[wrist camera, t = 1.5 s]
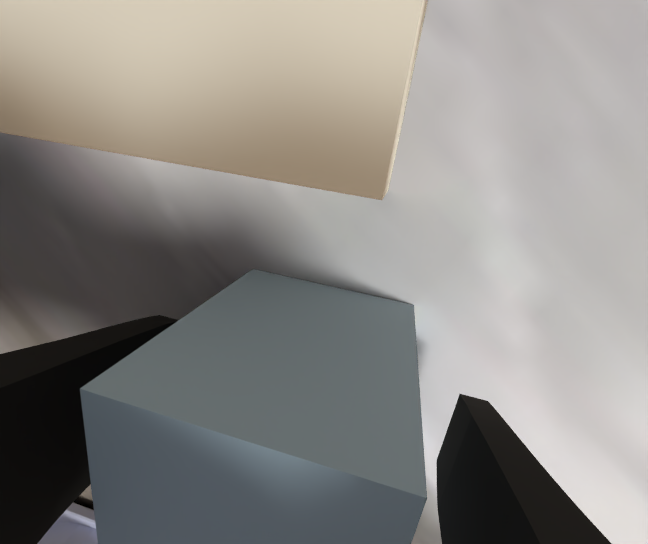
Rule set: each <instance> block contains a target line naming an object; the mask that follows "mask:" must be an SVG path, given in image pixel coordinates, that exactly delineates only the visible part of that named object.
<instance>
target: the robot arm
mask: <svg viewBox="0 0 648 544" xmlns="http://www.w3.org/2000/svg"><path fill="white" fill-rule="evenodd" d="M177 321H178V320H176V319H172V318H168V317H164V316H161V315H158V316H152V317H147V318H142V319H138V320H134V321H129V322H126V323H122V324H118V325H114V326H110V327H106V328H103V329H99V330H95V331H91V332H88V333H84V334H80V335H76V336H73V337H69V338H65V339H61V340H57V341H53V342H49V343H45V344H41V345H37V346H33V347H28V348H24V349H20V350H16V351H12V352H8V353H4V354H0V544H98V541H97V532H96V523H95V515H94V510H92V509H89V508H87V507H84V506H81V505H79V504H76V503H73V502H74V501H75V500H76V498H77V497H78V496H79V495H80V494H81V493H82V492H83V491H84V490H85V489H86V488H87V487H88V486H89V485H90V484H91V480H90V472H89V463H88V455H87V446H86V437H85V429H84V420H83V412H82V403H81V394H80V388H82V387H83V386H84V385H86V384H87V383H89V382H90V381H92V380H93V379H95V378H96V377H97V376H99V375H100V374H102V373H103V372H105V371H106V370H108V369H109V368H110V367H112V366H113V365H115V364H116V363H118V362H119V361H121V360H122V359H123V358H125V357H126V356H128V355H129V354H131V353H132V352H134V351H135V350H137V349H138V348H139V347H141V346H142V345H144V344H145V343H147V342H148V341H150V340H151V339H152V338H154V337H155V336H157V335H158V334H160V333H161V332H163V331H164V330H165V329H167V328H168V327H170V326H171V325H173V324H174V323H176V322H177ZM437 503H438V515H439V523H440V530H441V538H442V544H611V543H610V542H609V541H608V539H607V538H606V537H605V536H604V535H603V534H602V533H601V532H600V531H599V530H598V529H597V528H596V526H595V525H594V524H593V523H592V522H591V521H590V520H589V519H588V518H587V517H586V516H585V515H584V513H583V512H582V511H581V510H580V509H579V508H578V507H577V506H576V504H575V503H574V502H573V501H572V500H571V499H570V498H569V497H568V495H567V494H566V493H565V492H564V491H563V490H562V489H561V487H560V486H559V485H558V484H557V483H556V482H555V480H554V479H553V478H552V477H551V476H550V475H549V473H548V472H547V471H546V470H545V469H544V468H543V466H542V465H541V464H540V463H539V462H538V460H537V459H536V458H535V457H534V456H533V454H532V453H531V452H530V451H529V450H528V448H527V447H526V446H525V445H524V444H523V442H522V441H521V440H520V439H519V438H518V436H517V435H516V434H515V433H514V431H513V430H512V429H511V428H510V427H509V425H508V424H507V423H506V422H505V421H504V419H503V418H502V417H501V416H500V415H499V413H498V412H497V411H496V410H495V409H494V408H493V406H492V405H491V404H490V403H489V402H488V401H485V400H481V399H477V398H474V397H470V396H466V395H462V394H460V395H459V398H458V401H457V404H456V407H455V410H454V412H453V415H452V418H451V421H450V424H449V427H448V430H447V433H446V435H445V438H444V441H443V444H442V447H441V450H440V453H439V456H438V458H437Z"/></svg>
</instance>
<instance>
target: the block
mask: <svg viewBox="0 0 648 544" xmlns="http://www.w3.org/2000/svg"><path fill="white" fill-rule="evenodd" d="M80 394H81V403H82V412H83V420H84V429H85V437H86V446H87V455H88V463H89V472H90V480H91V489H92V498H93V506H94V515H95V523H96V532H97V541H98V544H411V542H412V539H413V536H414V534H415V531H416V528H417V525H418V522H419V519H420V517H421V514H422V511H423V508H424V505H425V502H426V500H427V491H426V476H425V462H424V447H423V433H422V418H421V403H420V389H419V374H418V359H417V345H416V330H415V315H414V305H412V304H408V303H403V302H399V301H394V300H390V299H385V298H381V297H376V296H372V295H367V294H363V293H359V292H354V291H350V290H345V289H341V288H336V287H332V286H327V285H323V284H318V283H314V282H309V281H305V280H301V279H296V278H292V277H287V276H283V275H278V274H274V273H269V272H265V271H260V270H256V269H252V270H251V271H249V272H248V273H246V274H245V275H244V276H242V277H241V278H239V279H238V280H236V281H235V282H233V283H232V284H231V285H229V286H228V287H226V288H225V289H223V290H222V291H220V292H219V293H218V294H216V295H215V296H213V297H212V298H210V299H209V300H207V301H206V302H205V303H203V304H202V305H200V306H199V307H197V308H196V309H194V310H193V311H191V312H190V313H189V314H187V315H186V316H184V317H183V318H181V319H180V320H178V321H177V322H176V323H174V324H173V325H171V326H170V327H168V328H167V329H165V330H164V331H163V332H161V333H160V334H158V335H157V336H155V337H154V338H152V339H151V340H150V341H148V342H147V343H145V344H144V345H142V346H141V347H139V348H138V349H137V350H135V351H134V352H132V353H131V354H129V355H128V356H126V357H125V358H123V359H122V360H121V361H119V362H118V363H116V364H115V365H113V366H112V367H110V368H109V369H108V370H106V371H105V372H103V373H102V374H100V375H99V376H97V377H96V378H95V379H93V380H92V381H90V382H89V383H87V384H86V385H84V386H83V387H82V388H80Z"/></svg>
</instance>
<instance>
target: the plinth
mask: <svg viewBox="0 0 648 544" xmlns="http://www.w3.org/2000/svg"><path fill="white" fill-rule="evenodd" d="M427 2H428V0H0V132H1V133H6V134H12V135H18V136H23V137H29V138H35V139H40V140H46V141H51V142H57V143H63V144H68V145H74V146H80V147H85V148H91V149H97V150H102V151H108V152H113V153H119V154H125V155H130V156H136V157H142V158H147V159H153V160H159V161H164V162H170V163H175V164H181V165H187V166H192V167H198V168H204V169H209V170H215V171H221V172H226V173H232V174H237V175H243V176H249V177H254V178H260V179H266V180H271V181H277V182H283V183H288V184H294V185H300V186H305V187H311V188H316V189H322V190H328V191H333V192H339V193H345V194H350V195H356V196H362V197H367V198H373V199H378V200H382V199H383V198H384V196H385V195H386V193H387V191H388V189H389V184H390V179H391V175H392V170H393V165H394V160H395V155H396V151H397V146H398V141H399V136H400V132H401V127H402V122H403V117H404V112H405V108H406V103H407V98H408V93H409V88H410V84H411V79H412V74H413V69H414V64H415V60H416V55H417V50H418V45H419V40H420V36H421V31H422V26H423V21H424V16H425V12H426V7H427Z"/></svg>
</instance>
